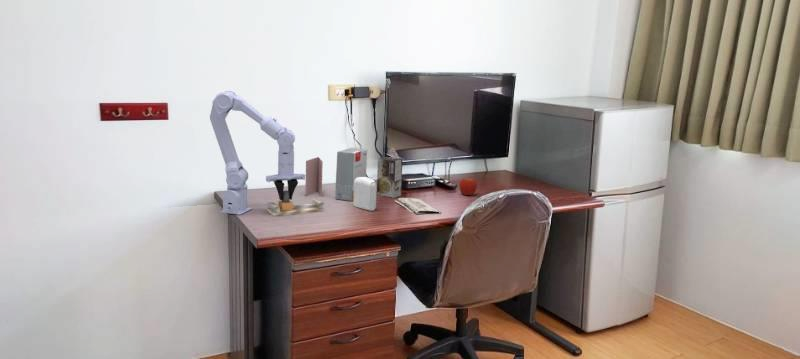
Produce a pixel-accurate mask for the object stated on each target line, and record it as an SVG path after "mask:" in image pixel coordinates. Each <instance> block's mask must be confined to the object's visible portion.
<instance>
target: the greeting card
mask: <svg viewBox="0 0 800 359" xmlns="http://www.w3.org/2000/svg"><path fill="white" fill-rule="evenodd" d="M323 165H324V164H323V161H322V159H321V158H320V157H319V156H318V157H315V158H314V157H313V158H311V159H307V160H305V189H304V190H305V192H304V193H305V194H304V195H305V197H308V196H309V195H312V194H314V193H316V192H317V193H318V194H319V195H320V197H321V198H322V196H323Z"/></svg>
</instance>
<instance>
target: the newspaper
mask: <svg viewBox="0 0 800 359" xmlns="http://www.w3.org/2000/svg"><path fill="white" fill-rule="evenodd" d="M395 203H397V204H399V205H401V206H402V207H403V208H405V209H407V211H409V212H410V213H413V214H415V213H416V214H417V215H425V214H424V213H425V212H434V213H438V212H441V211H440V210H438V209H437V208H435V207H433V206H432V205H430V204H429V203H427V202H425V201H424V200H422V199H421V198H414V197H413V198H412V197H399V198H398V199H397V200H395ZM421 211H422V212H421ZM414 212H415V213H414ZM423 212H424V213H423Z"/></svg>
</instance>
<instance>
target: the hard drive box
mask: <svg viewBox="0 0 800 359" xmlns="http://www.w3.org/2000/svg"><path fill="white" fill-rule="evenodd" d="M367 163H368V148H358V147H349V148H346V149H343V150H338V151H337V152H336V173H335V191H334V192H335V193H334V198H335V200H341V201H348V202H351V201H353V196H354V180H355V179H356V178H358V177H367Z"/></svg>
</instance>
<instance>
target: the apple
mask: <svg viewBox="0 0 800 359" xmlns="http://www.w3.org/2000/svg"><path fill="white" fill-rule="evenodd" d="M477 187H478V182H477V181H476V179H475V178H462V179H461V180H460V181H459V190H460V193H461V194H462V195H463V194H464V195H463V196H466V195H471V196H473V195H474V194H475V192H476V191H477Z"/></svg>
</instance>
